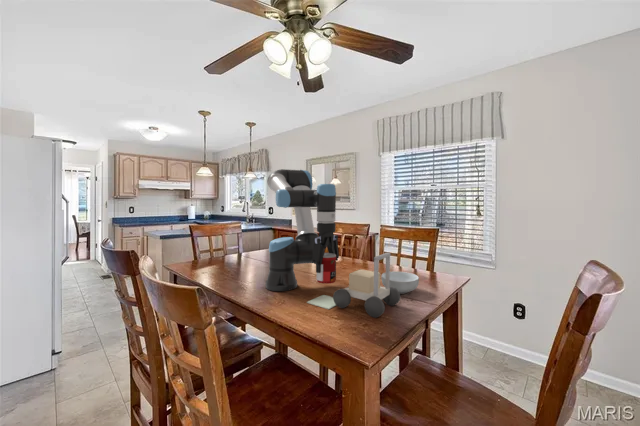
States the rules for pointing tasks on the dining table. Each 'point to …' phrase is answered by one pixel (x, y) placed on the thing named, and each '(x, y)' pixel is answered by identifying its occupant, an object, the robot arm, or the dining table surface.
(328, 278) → the canned food
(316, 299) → the mat
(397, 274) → the cereal bowl
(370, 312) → the trolley
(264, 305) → the dining table surface
